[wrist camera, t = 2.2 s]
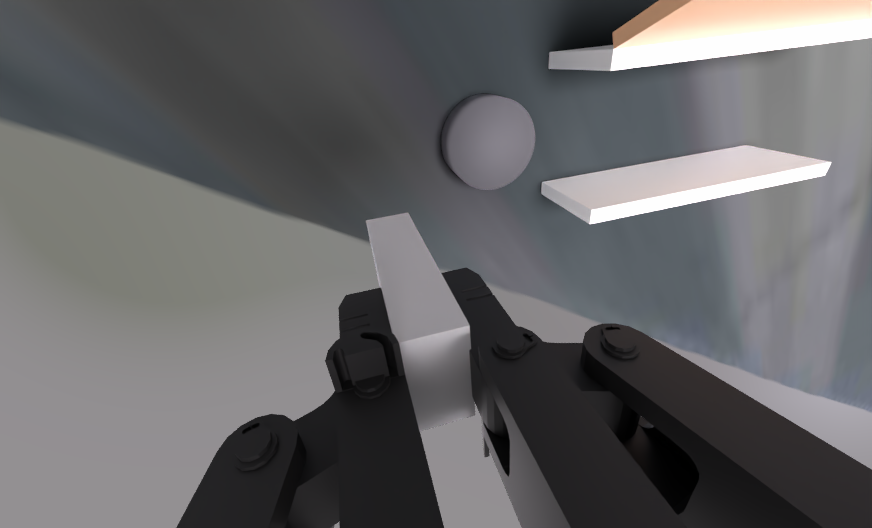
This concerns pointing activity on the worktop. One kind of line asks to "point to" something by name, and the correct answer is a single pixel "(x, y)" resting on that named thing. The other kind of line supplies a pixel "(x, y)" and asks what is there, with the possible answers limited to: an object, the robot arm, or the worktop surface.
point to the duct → (698, 172)
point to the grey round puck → (488, 140)
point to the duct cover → (732, 18)
